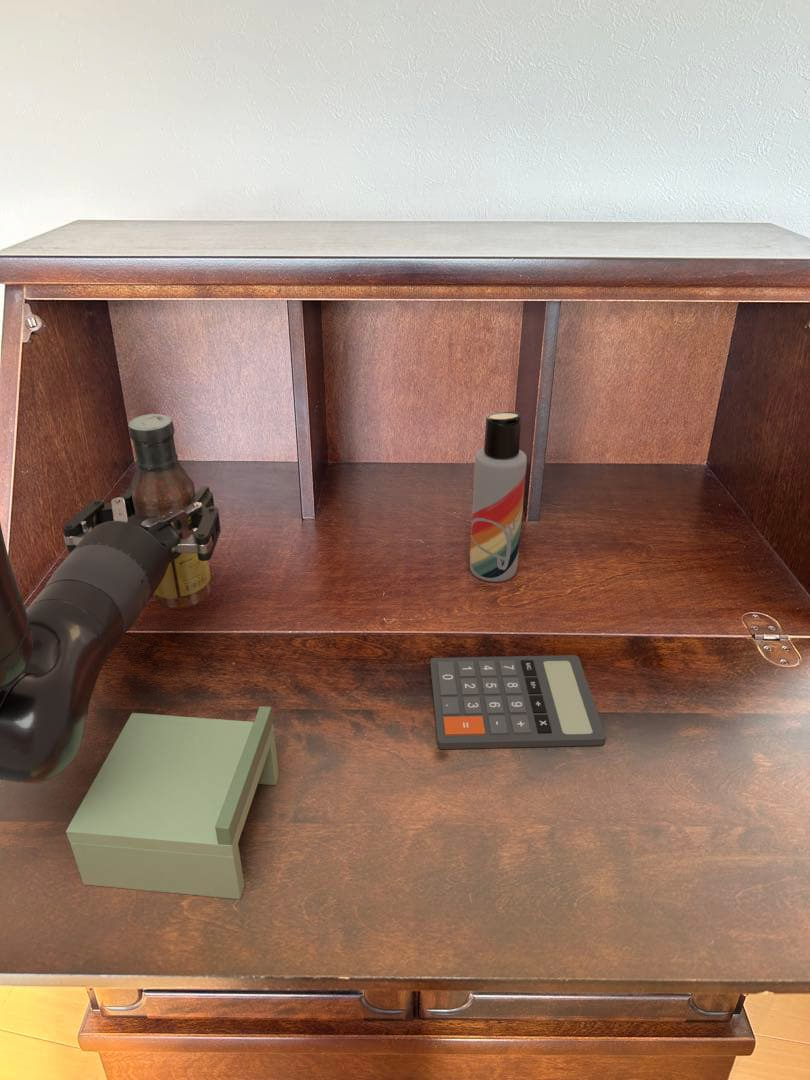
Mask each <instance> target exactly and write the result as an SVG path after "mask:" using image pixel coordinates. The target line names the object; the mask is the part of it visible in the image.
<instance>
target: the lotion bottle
mask: <svg viewBox="0 0 810 1080" xmlns="http://www.w3.org/2000/svg"><path fill="white" fill-rule="evenodd" d="M522 419H523V418H522V415H521V414H520V413H519V412H516V411H501V412H495V413H490V414H487V415H486V416H485V429H484V441H483V442H484V443H483V447H482V448H480V449H479V450H477V452H476V453H475V457H474V458H475V459H474V470H473V471H474V473H473V490H472V492H473V493H472V511H471V529H470V545H469V546H470V547H469V548H470V549H469V570H470V572H471V574H472V575H473V576H474V577H475V578H477V579H479V580H481V581H484V582H488V583H502V582H506V581H509V580H511V579H512V578H514V576H515V575H516V574H517V569H518V564H519V563H518V562H519V553H520V542H521V531H522V519H523V509H524V508H523V507H524V499H525V487H526V478H527V477H526V476H527V465H528V464H527V463H528V459H527V458H528V457H527V455H526V453H525V452H524V451H523V450H521V449H520V447H521V434H522V433H521V432H522V422H523V421H522Z"/></svg>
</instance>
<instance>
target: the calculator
mask: <svg viewBox="0 0 810 1080" xmlns="http://www.w3.org/2000/svg"><path fill="white" fill-rule="evenodd" d="M429 660H430V661H429V668H430V679H431V688H432V689H431V690H432V700H433V701H432V702H433V713H434V721H435V722H434V724H435V731H436V732H435V734H436V744H437V748H438V749H440V750H458V749H461V750H462V749H500V748H501V749H502V748H503V749H504V748H507V749H508V748H542V747H544V748H545V747H547V748H548V747H580V746H581V747H586V746H588V747H589V746H592V747H593V746H604V745H605V743H606V739H607V738H606V733H605V729H604V727H603V724H602V721H601V718H600V716H599V713H598V709H597V707H596V704H595V700H594V698H593V695H592V691H591V689H590V685H589V683H588V680H587V677H586V675H585V671H584V667H583V666H582V662H581V660H580V657H579V656H578V655H576V654H566V655H563V654H561V655H517V656H515V655H513V656H511V655H510V656H465V657H463V656H462V657H460V656H459V657H457V656H456V657H431V659H429Z"/></svg>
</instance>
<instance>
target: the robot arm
mask: <svg viewBox="0 0 810 1080" xmlns="http://www.w3.org/2000/svg"><path fill="white" fill-rule="evenodd" d="M190 516H191V523H189V524H187V519H188V518H189V517H190ZM171 522H173V526H172V524H171ZM61 529H62V534H63V538H64V542H65V546H66V550H67V551H68V552H69V554H68V555H67V556H66V558H64V560H63V561H62V562H61V563H60V565H58V567H56V569H55V570H54V571H53V573H52V574H51V576H50V577H49V579H48V581H47V583H46V585H45V586H44V588H43V589H42V590H41V592H39V594H38V595H37V596H36V598H34V599H33V601H32V602H31V603H30V604H29V605H28V606H27V608H26V607H25V605H24V601H23V598H22V595H21V592H20V589H19V586H18V583H17V580H16V577H15V573H14V570H13V566H12V564H11V561H10V558H9V554H8V550H7V547H6V543H5V542H6V541H5V538H4V533H3V528H2V523H1V522H0V780H3V781H7V782H11V783H12V782H13V783H17V784H18V783H19V784H24V785H25V784H26V785H36V784H41V783H44V782H46V781H50V780H51V779H53V778H55V777H57V776H59V775H60V774H61V773H62V772H64V771H65V770H66V769H67V768H68V767H69V766H70V765H71V764H72V763H73V761H74V760H75V758H76V757H77V755H78V754H79V751H80V748H81V746H82V742H83V739H84V735H85V729H86V725H87V724H86V723H87V718H88V713H89V709H90V703H91V700H92V696H93V692H94V690H95V686H96V683H97V681H98V678H99V675H100V673H101V670H102V668H103V666H104V664H106V661H108V659H109V657H110V656H111V655H112V652H114V650H115V648H116V647H117V645H118V643H119V642H120V640H121V639H122V638H123V636H124V635H125V634H126V633H127V632H128V631H129V630H130V629H131V628H132V627H133V626H134V624H135V623H136V622H137V620H138V619H139V617H140V615H141V614H142V612H143V611H144V610H145V608H146V606H147V605H148V603H149V602H150V600H151V598H152V597H153V596H154V595H153V594H154V592H155V591H156V589H157V588H158V586H159V585H160V583H161V581H162V580H163V578H164V576H165V574H166V571H167V568H168V565H169V563H170V562H171V561H173V560H175V559H176V558H178V557H179V556H180V555H181V553H197V555H198V559H199V560H200V561H207V560H208V561H209V560H211V559H212V557H213V554H214V551H215V548H216V547H217V543H218V540H219V537H220V534H221V531H222V530H221V521H220V514H219V508H218V507H217V506H215V502H214V494H213V491H210V487H209V486H200V487H199V489H198V490H197V492H195V496H194V497H193V499H192V500H191V502H190V504H189V505H187V506H185V507H183V508H182V509H177V508H172V509H170V510H168V511H167V512H165V513H163V514H161V515H159V516H154V517H145V516H141V515H135V509H134V504H133V501H132V495H131V490H130V487H127V488H126V489H125V490H124V492H122V493H121V495H120V496H119V497H114V498H112V499H111V500H110V502H106V503H105V501H104V499H100V498H99V499H94V500H92V501H90V502H89V503H88V504H87V505H85V506H84V507H83V508H82V509H81V510H80V511H78V512H77V513H76V514H75V515H74V516H73V517H72V518H70V519H69V520H68V521H67V522H65V523H64V524H63V525H62V526H61Z"/></svg>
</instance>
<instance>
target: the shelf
mask: <svg viewBox="0 0 810 1080" xmlns="http://www.w3.org/2000/svg"><path fill="white" fill-rule="evenodd" d="M276 745H277V744H276V735H275V727H274V719H273V710H272V707H271V706H259V707H258V709H257V712H256V715H255V718H254V721H245V720H234V719H221V718H208V717H192V716H181V715H179V716H178V715H168V714H167V715H166V714H151V713H141V712H140V713H139V712H132V713H131V714H130V716H129V718H128V719H127V720H126V723H125V725H124V726H123V728H122V730H121V732H120V734H119V735H118V737H117V739H116V740H115V742H114V744H113V746H112V748H111V750H110V751H109V753H108V755H107V756H106V759H105V761H104V762H103V763H102V766H101V767H100V769H99V771H98V773H97V775H96V777H95V778H94V779H93V782H92V783H91V785H90V787H89V789H88V791H87V792H86V794H85V796H84V798H83V799H82V801H81V803H80V804H79V807H78V809H77V810H76V812H75V814H74V816H73V817H72V819H71V821H70V823H69V825H68V826H67V829H66V830H65V833H66V836H67V839H68V842H69V844H70V848H71V851H72V854H73V856H74V857H73V858H74V860H75V863H76V866H77V869H78V873H79V875H80V879H81V881H82V885H85V886H92V887H93V886H94V887H105V888H114V889H115V888H116V889H126V890H137V891H145V892H146V891H147V892H148V891H149V892H158V893H169V894H179V895H190V896H199V897H211V898H221V899H222V898H223V899H230V900H231V899H233V900H241V899H242V896H243V893H244V890H245V887H246V886H245V885H246V884H245V880H244V879H245V878H244V873H243V872H244V871H243V866H242V861H241V853H240V847H239V841H240V838H241V835H242V832H243V830H244V826H245V824H246V821H247V818H248V814H249V811H250V808H251V806H252V802H253V800H254V796H255V793H256V790H257V788H258V785H267V786H276V785H277V783H278V779H279V776H280V772H279V763H278V753H277V746H276Z"/></svg>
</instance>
